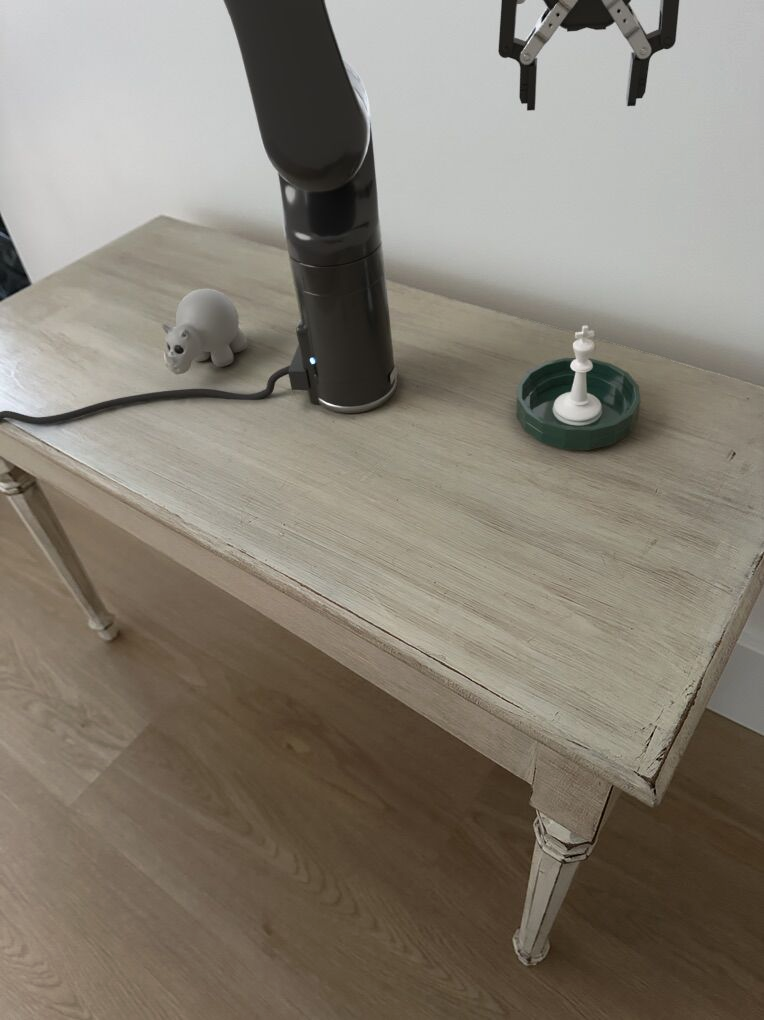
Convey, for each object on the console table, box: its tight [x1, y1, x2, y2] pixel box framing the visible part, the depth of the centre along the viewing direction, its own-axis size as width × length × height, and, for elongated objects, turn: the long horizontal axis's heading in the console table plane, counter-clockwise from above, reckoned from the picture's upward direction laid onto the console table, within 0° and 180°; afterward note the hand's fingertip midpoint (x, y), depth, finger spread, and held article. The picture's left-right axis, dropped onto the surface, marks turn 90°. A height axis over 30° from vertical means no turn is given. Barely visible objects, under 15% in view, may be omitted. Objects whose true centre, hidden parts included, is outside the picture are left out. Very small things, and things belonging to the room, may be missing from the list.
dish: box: [516, 357, 642, 451], centre depth 81 cm, size 12×12×3 cm
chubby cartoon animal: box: [161, 288, 248, 375], centre depth 92 cm, size 7×12×8 cm, turn 153°
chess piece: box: [553, 324, 602, 426], centre depth 78 cm, size 5×5×10 cm
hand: (580, 105), depth 70 cm, fingers open, 8 cm apart
